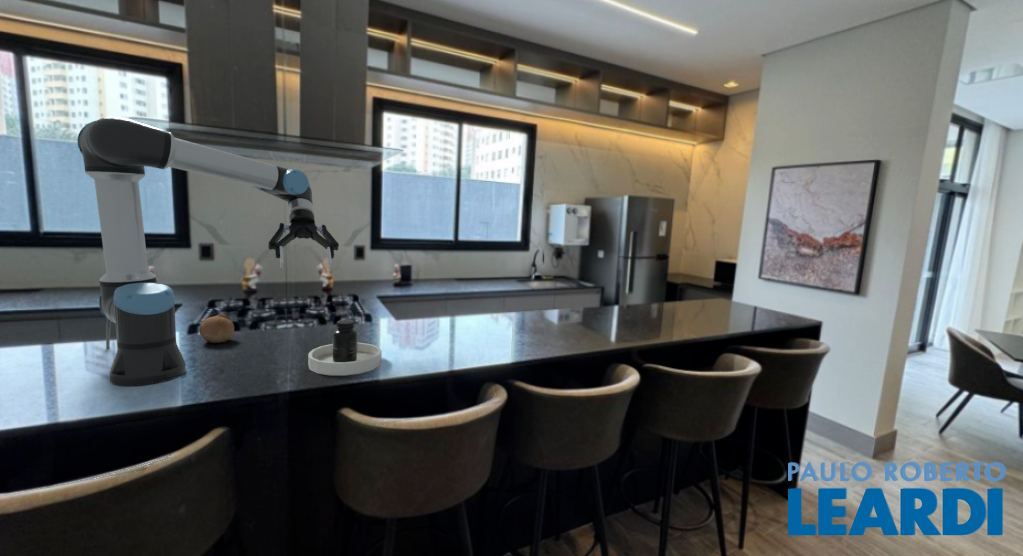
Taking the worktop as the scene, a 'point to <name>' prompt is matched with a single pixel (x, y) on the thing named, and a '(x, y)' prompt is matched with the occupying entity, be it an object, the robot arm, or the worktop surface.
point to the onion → (217, 329)
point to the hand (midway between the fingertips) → (306, 265)
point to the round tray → (324, 364)
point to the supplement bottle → (345, 342)
